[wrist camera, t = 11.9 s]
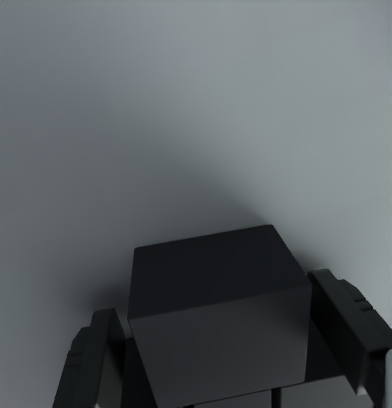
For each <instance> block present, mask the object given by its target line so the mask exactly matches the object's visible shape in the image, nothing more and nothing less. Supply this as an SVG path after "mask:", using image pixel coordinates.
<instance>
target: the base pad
mask: <svg viewBox="0 0 392 408" xmlns="http://www.w3.org/2000/svg"><path fill="white" fill-rule="evenodd" d="M69 353H70V351H69V352H68V354H67V358H66V361H65V365H64V368H63V372H62V375H61V379H60V382H59V386H58V389H57V393H56V396H55V400H54V403H53V407H52V408H54V406H55V403H56V399H57V395H58V392H59V388H60V385H61V381H62V378H63V374H64V370H65V369H66V363H67V360H68V357H69ZM372 403H373V402H372V400H371V399H370V397H369V395H368V394H362V395H358V396H356V394H355V393H354V391H353V389H352V387H351V386H350V384H349V382H348V381H347V379H346V377H345V375H344V374H343V372H342V370H341V368H340V367H339V365H338V363H337V362H336V360H335V358H334V356H333V355H332V353H331V351H330V349H329V348H328V346H327V344H326V343H325V341H324V339H323V337H322V336H321V334H320V332H319V331H318V329H317V327H316V325H315V324H314V322H313V320H312V318H311V317H310V319H309V331H308V343H307V355H306V367H305V379H304V382H301V383H296V384H291V385H286V386H281V387H276V388H272V389H271V408H372ZM120 408H158V407H157V404H156V401H155V399H154V396H153V393H152V390H151V387H150V384H149V381H148V378H147V375H146V372H145V369H144V367H143V364H142V361H141V358H140V355H139V352H138V349H137V346H136V343H135V340H134V339H129V340H126V352H125V363H124V373H123V383H122V394H121V404H120ZM178 408H194V406H193V404H192V405H188V406H183V407H178Z"/></svg>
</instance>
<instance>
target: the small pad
mask: <svg viewBox="0 0 392 408" xmlns="http://www.w3.org/2000/svg"><path fill="white" fill-rule="evenodd" d="M311 294H312V284H311V282H310V281H309V279H308V278H307V276H306V275H305V273H304V272H303V270H302V269H301V267H300V266H299V264H298V263H297V261H296V260H295V258H294V257H293V255H292V254H291V252H290V251H289V249H288V248H287V246H286V245H285V243H284V242H283V240H282V238H281V237H280V235H279V234H278V232H277V231H276V229H275V228H274V226H273V225H266V226H261V227H255V228H249V229H244V230H238V231H232V232H227V233H221V234H215V235H210V236H204V237H198V238H192V239H187V240H181V241H175V242H170V243H164V244H158V245H153V246H147V247H141V248H136V249H135V250H134V259H133V269H132V279H131V288H130V298H129V308H128V317H127V320H128V323H129V326H130V329H131V332H132V335H133V337H134V340H135V343H136V346H137V349H138V352H139V355H140V358H141V361H142V364H143V367H144V369H145V372H146V375H147V378H148V381H149V384H150V387H151V390H152V393H153V396H154V399H155V401H156V404H157V407H158V408H178V407H183V406H188V405H192V404H193V406H194V408H271V389H272V388H276V387H281V386H286V385H291V384H296V383H301V382H304V379H305V367H306V355H307V343H308V331H309V319H310V306H311Z"/></svg>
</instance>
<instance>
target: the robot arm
mask: <svg viewBox="0 0 392 408" xmlns="http://www.w3.org/2000/svg"><path fill="white" fill-rule="evenodd" d="M307 278H308V279H309V281H310V282H311V284H312V294H311V306H310V317H311V318H312V320H313V322H314V324H315V325H316V327H317V329H318V331H319V332H320V334H321V336H322V337H323V339H324V341H325V343H326V344H327V346H328V348H329V349H330V351H331V353H332V355H333V356H334V358H335V360H336V362H337V363H338V365H339V367H340V368H341V370H342V372H343V374H344V375H345V377H346V379H347V381H348V382H349V384H350V386H351V387H352V389H353V391H354V393H355V394H356V396H358V395H362V394H368V395H369V397H370V399H371V400H372V402H373V403H372V408H392V329H391V328H390V327H389V326H388V324H387V323H386V322H385V321H384V320H383V318H382V317H381V316H380V315H379V314H378V313H377V311H376V310H374V309H373V307H372V305H371V304H370V303H369V302H368V301H366V298H365V297H364V296H363V295H362V294H361V292H360V291H359V290H358V289H357V288H356V287H355V286H353V285H352V284H350V283H349V282H347V281H346V280H344V279H342V280H337V279H336V278H335V277H334V276H333V274H332V273H331V272H330V271H329V270H328V269H322V270H316V271H311V272H308V273H307ZM125 352H126V340H125V334H124V331H123V328H122V325H121V323H120V320H119V317H118V314H117V312H116V309H115V308H108V309H103V310H98V311H94V313H93V316H92V320H91V325H90V326H89V327H84V328H81V329H80V331H79V332H78V334H77V335H76V337H75V338H74V340H73V342H72V345H71V349H70V353H69V357H68V360H67V363H66V369H65V370H64V374H63V378H62V381H61V385H60V388H59V392H58V395H57V399H56V403H55V406H54V408H120V404H121V394H122V383H123V373H124V363H125Z"/></svg>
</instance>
